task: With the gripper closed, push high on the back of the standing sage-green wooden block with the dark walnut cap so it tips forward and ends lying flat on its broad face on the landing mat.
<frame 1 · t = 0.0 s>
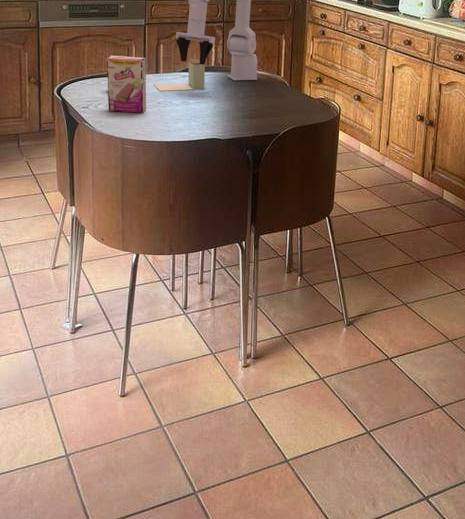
hand: (192, 62, 247), 11 cm above the table, tool pointing down, fingers open, 7 cm apart
sage block: (196, 86, 261), on the table
candy bar box: (127, 111, 229), on the table
landing mat: (173, 87, 259), on the table
soda can: (119, 91, 252), on the table
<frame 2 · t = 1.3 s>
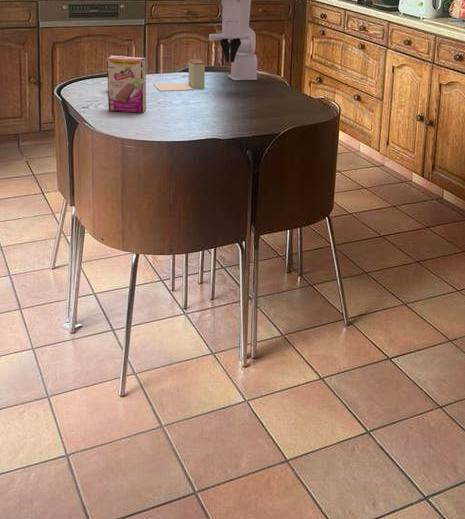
hand: (229, 61, 251), 10 cm above the table, tool pointing down, fingers closed
nothing on the table moved.
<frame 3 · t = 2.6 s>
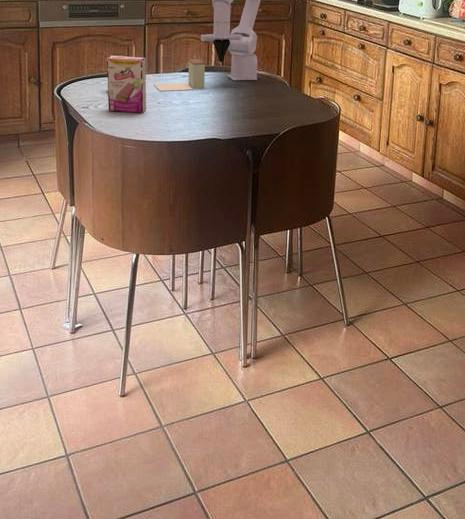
hand: (220, 61, 260), 9 cm above the table, tool pointing down, fingers closed
nothing on the table moved.
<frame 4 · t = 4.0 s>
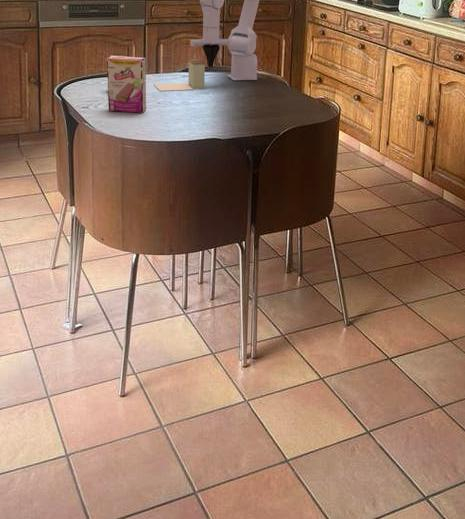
hand: (210, 66, 260), 7 cm above the table, tool pointing down, fingers closed
nothing on the table moved.
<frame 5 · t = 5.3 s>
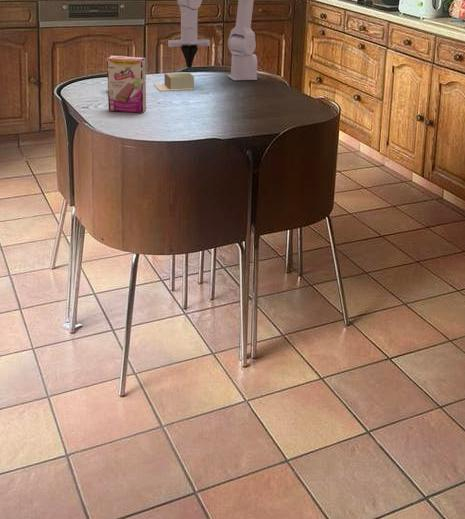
hand: (188, 67, 257), 7 cm above the table, tool pointing down, fingers closed
sage block: (191, 80, 260), point 2 cm above the table, tilted 90°, touching landing mat
everything else where it was.
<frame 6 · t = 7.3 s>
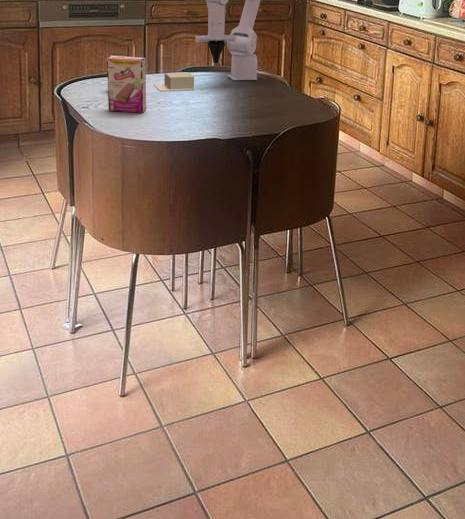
hand: (215, 62, 260), 8 cm above the table, tool pointing down, fingers closed
nothing on the table moved.
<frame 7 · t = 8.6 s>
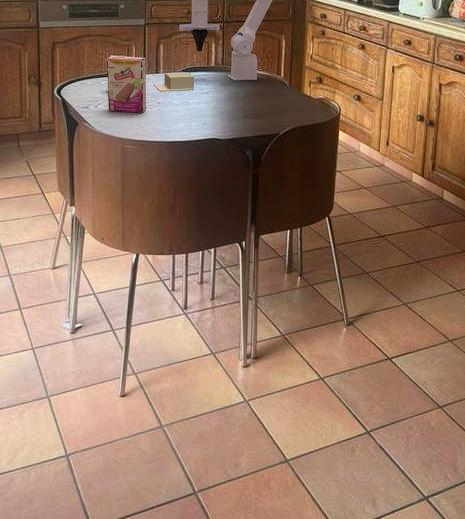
hand: (199, 50, 267), 10 cm above the table, tool pointing down, fingers closed
nothing on the table moved.
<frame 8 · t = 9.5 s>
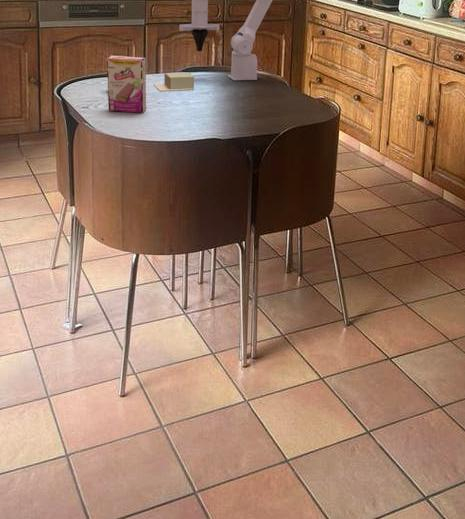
hand: (199, 50, 267), 10 cm above the table, tool pointing down, fingers closed
nothing on the table moved.
at the end: sage block tilted 90°; sage block inside the target area (1.1 cm from its centre), point 2.3 cm above the table; sage block touching landing mat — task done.
